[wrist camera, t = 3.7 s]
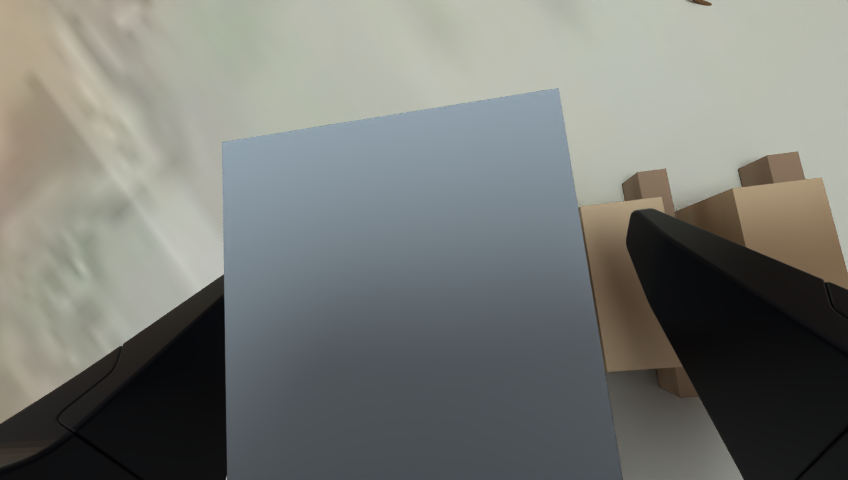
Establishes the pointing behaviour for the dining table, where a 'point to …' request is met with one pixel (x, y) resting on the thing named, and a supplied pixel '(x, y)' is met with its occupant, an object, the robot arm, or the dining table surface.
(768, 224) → the oak offcut
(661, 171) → the rack
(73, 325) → the dining table surface
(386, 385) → the batten
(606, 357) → the oak offcut
